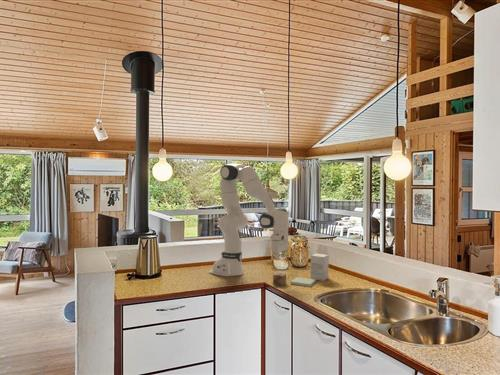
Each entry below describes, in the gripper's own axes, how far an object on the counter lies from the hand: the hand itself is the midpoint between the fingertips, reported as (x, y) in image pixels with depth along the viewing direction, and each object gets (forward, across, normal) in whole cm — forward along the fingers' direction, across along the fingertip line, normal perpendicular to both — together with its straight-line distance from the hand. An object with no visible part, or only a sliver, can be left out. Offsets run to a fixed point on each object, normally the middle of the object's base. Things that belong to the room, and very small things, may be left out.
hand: (280, 258), depth 234 cm
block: (+15, 0, 0) cm, 15 cm away
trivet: (+15, -9, +12) cm, 21 cm away
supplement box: (+15, -24, +18) cm, 34 cm away
